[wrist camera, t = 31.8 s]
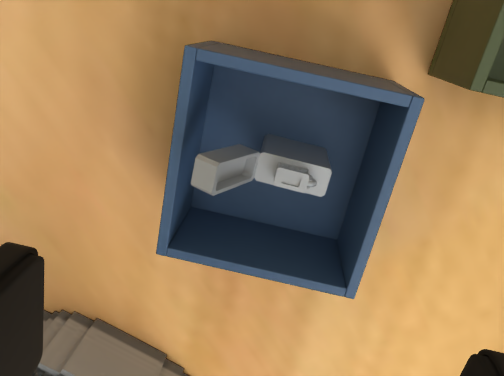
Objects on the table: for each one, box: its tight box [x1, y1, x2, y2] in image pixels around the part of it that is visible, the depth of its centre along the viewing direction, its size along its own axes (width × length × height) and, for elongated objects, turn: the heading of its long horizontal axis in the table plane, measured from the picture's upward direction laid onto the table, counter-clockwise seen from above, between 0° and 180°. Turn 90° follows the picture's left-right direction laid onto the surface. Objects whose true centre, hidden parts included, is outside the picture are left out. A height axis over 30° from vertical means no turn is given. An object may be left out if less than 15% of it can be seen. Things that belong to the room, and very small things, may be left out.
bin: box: [156, 41, 424, 299], centre depth 26 cm, size 12×12×7 cm
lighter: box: [191, 134, 332, 197], centre depth 24 cm, size 7×2×8 cm, turn 77°
